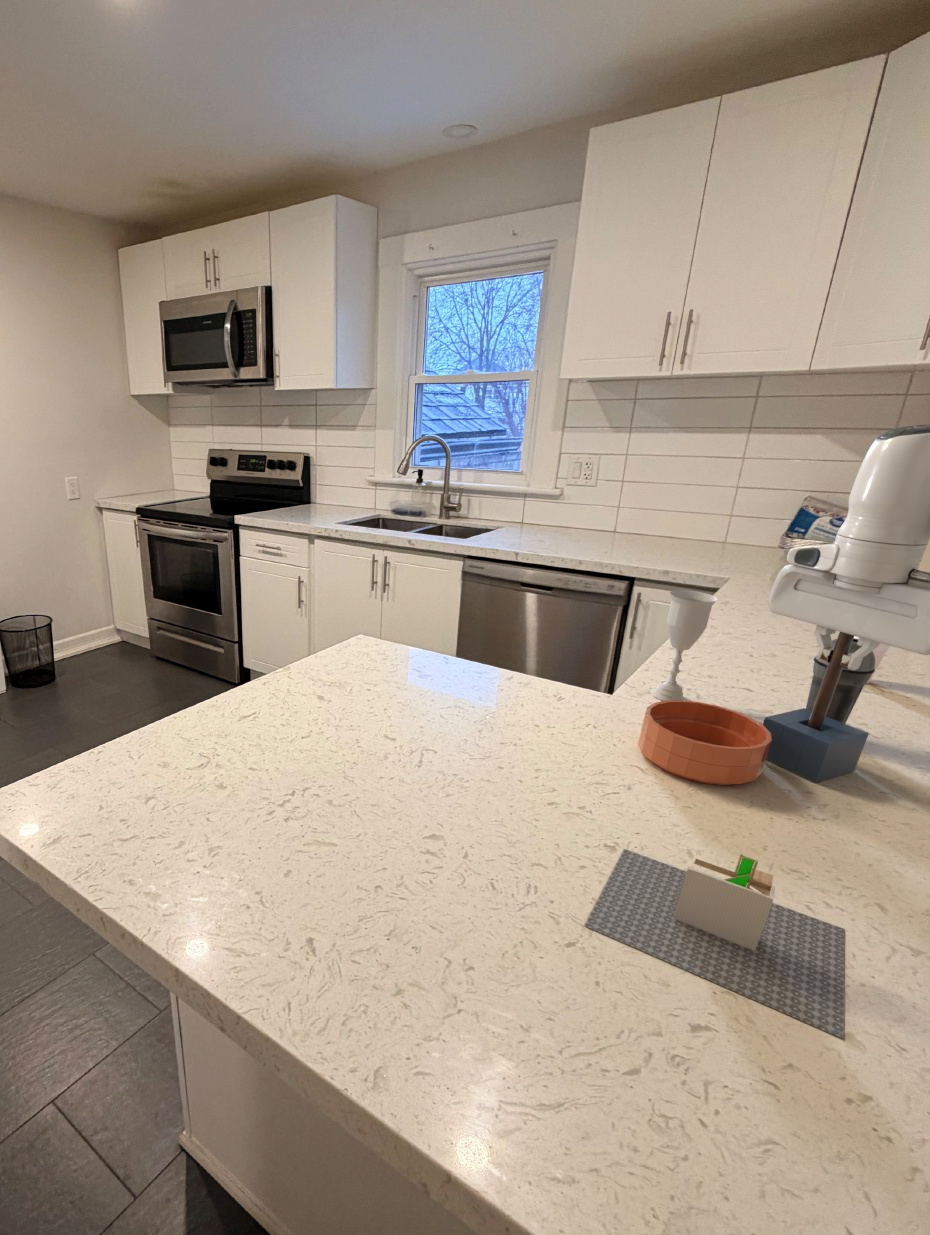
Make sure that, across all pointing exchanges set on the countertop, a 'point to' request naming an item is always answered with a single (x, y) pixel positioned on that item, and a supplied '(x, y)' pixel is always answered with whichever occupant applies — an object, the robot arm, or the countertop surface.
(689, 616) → the chalice
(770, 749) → the holder
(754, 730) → the bowl
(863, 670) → the beverage cup
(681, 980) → the countertop surface
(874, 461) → the robot arm
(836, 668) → the stick
